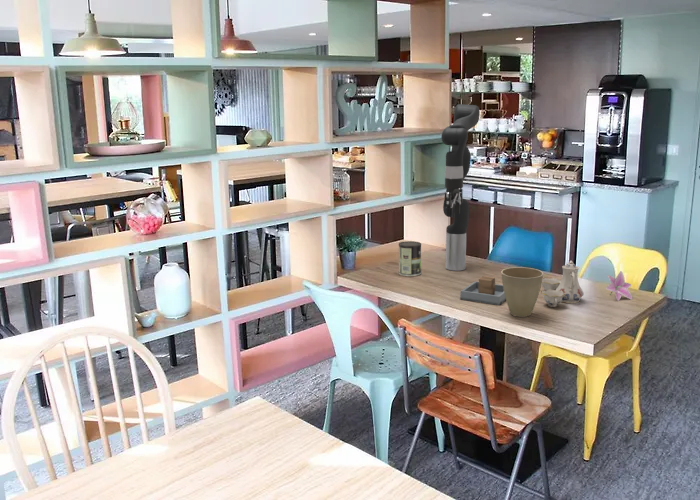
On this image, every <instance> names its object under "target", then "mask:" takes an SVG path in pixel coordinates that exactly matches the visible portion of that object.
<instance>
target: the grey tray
mask: <svg viewBox="0 0 700 500" xmlns="http://www.w3.org/2000/svg"><path fill="white" fill-rule="evenodd" d="M478 289H479V281H477V280H475V281H473V282H472V283H470V284H469V285H467V286H466V287H464V288H462V289H461V290H460V294H459V296H460V297H459V300H463V301H469V302H475V303H480V302H481V304H486V305H495V306H500V305H502V304H503V303H504V302H505V301H506V298H505V293H504V289H503V284H498V283H495V294H494V295H490V294H483V293H478Z"/></svg>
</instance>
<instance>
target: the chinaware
mask: <svg viewBox="0 0 700 500" xmlns="http://www.w3.org/2000/svg"><path fill="white" fill-rule="evenodd" d="M561 267H562V276H561V277H562V278H561V279H560V280H559V279H558V278H556V277H552V278H551V277H550V278H548V277H543V278H542V283H541V287H542V289H543V290H540V292H541V295H542V297H543V300H544V302H545V303H546V304H547V306H548V307H549V308H556V307H558V304H560V303H565V304H578V303H579V302H580V301H581V298H582V297H584V291H583V289H582V288H581V285H580V283H579V278H578V276H579V275H578V273H579V269H580V267H579V266H577V265H576V264H575V263H574V262H573V260H569V262H566V264H565V265H562V266H561Z"/></svg>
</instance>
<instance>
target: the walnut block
mask: <svg viewBox="0 0 700 500" xmlns="http://www.w3.org/2000/svg"><path fill="white" fill-rule="evenodd" d="M478 282H479V289H478V293H483V294H490V295H494V294H495V284H496V277H493V276H492V277H491V276H485V275H483V276H481V277H479V278H478Z"/></svg>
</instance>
